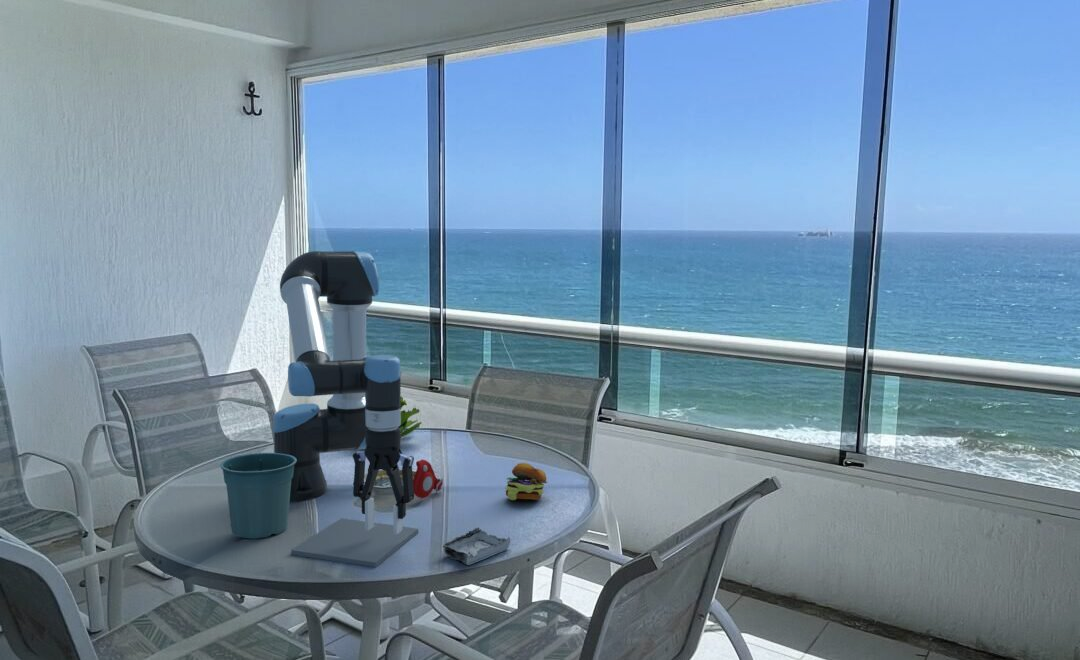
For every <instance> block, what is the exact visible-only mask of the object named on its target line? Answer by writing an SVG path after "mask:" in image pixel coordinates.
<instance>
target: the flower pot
mask: <svg viewBox="0 0 1080 660" xmlns="http://www.w3.org/2000/svg"><path fill="white" fill-rule="evenodd" d="M296 461H297V459H296V458H295V457H294V456H291V455H287V454H280V453H274V452H256V453H254V452H253V453H247V454H246V453H245V454H241V455H236V456H231V457H229V458H227V459H224V460H223V461H221V462H220V464H219V466H220V468H221V470H222V473H223V480H224V484H225V485H226V492H227V493H226V494H227V503H228V510H229V519H230V527H231V529H230V530H231V533H232V535H236V536H237V537H238V538H242V539H243V538H244V539H254V540H255V539H262V538H269V537H270V536H271V535H273V534H274V535H280V534H281V533H283V532H285V531H286V529H287V528H288V523H289V512H290V503H291V501H290V490H291V479H292V478H293V472H294V465H295V464H296Z"/></svg>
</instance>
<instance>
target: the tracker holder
mask: <svg viewBox="0 0 1080 660" xmlns="http://www.w3.org/2000/svg"><path fill="white" fill-rule="evenodd" d="M443 482H444V478H441V479H440V478H437V477H436V475H435V471H434V469H433V467H432V464H431V463H430V462H429V461H427V460H426V459H420V460H418V461H417V460H416V471H415V473H414V475H413V487H414V497H417V498H420V499H425V498H427V497H428V496H430V495H431V494H432V492H433V490H435V493H438V492H440V491H441V490H442V489H443Z"/></svg>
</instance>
